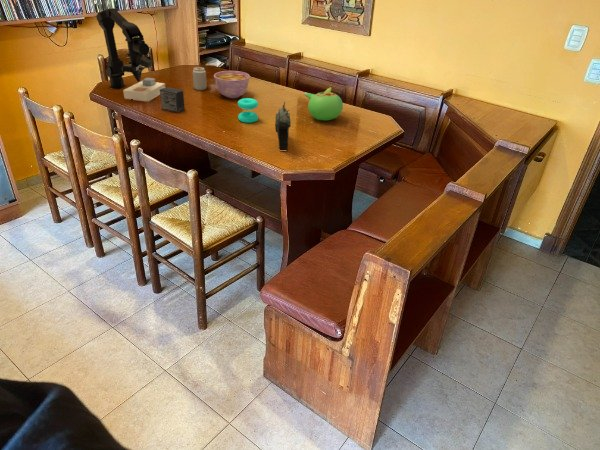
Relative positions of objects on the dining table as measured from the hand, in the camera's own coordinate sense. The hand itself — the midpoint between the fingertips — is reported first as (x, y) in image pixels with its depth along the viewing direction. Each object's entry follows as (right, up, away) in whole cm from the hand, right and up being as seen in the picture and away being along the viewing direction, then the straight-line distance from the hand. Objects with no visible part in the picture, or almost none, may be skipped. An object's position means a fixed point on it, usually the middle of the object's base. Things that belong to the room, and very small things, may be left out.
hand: (138, 81), depth 241 cm
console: (+1, -5, +9) cm, 10 cm away
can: (+28, +3, +23) cm, 37 cm away
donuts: (+61, -25, -15) cm, 67 cm away
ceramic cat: (+79, -41, -38) cm, 96 cm away
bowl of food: (+48, -3, +15) cm, 51 cm away
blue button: (+2, +1, +11) cm, 11 cm away
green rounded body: (+100, -22, -8) cm, 102 cm away
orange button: (-1, -6, +4) cm, 8 cm away
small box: (+21, -17, -8) cm, 29 cm away
